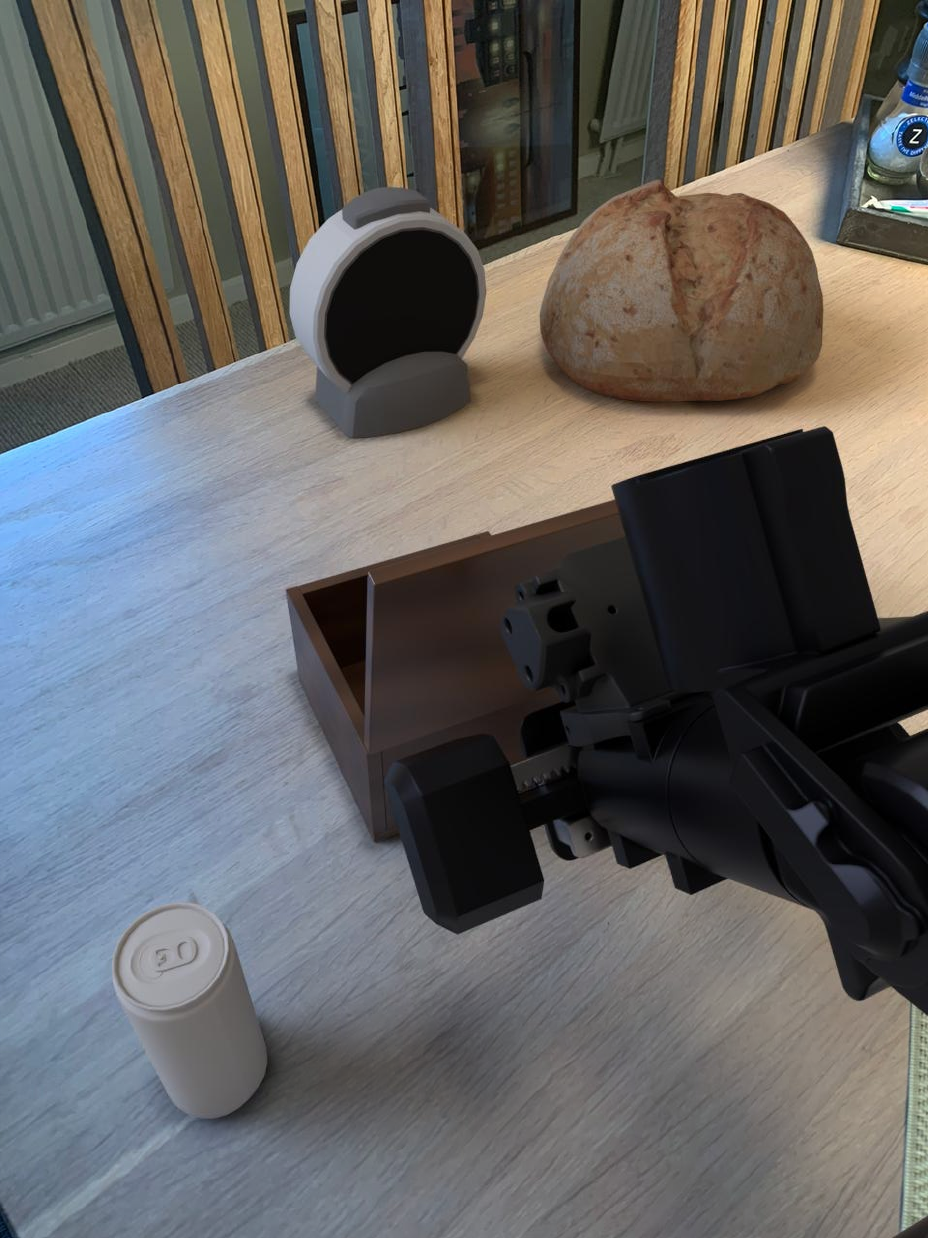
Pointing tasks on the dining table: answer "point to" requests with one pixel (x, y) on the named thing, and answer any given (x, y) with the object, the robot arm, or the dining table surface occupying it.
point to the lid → (458, 625)
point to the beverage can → (191, 1007)
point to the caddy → (336, 688)
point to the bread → (684, 298)
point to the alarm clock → (388, 312)
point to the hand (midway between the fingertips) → (549, 746)
